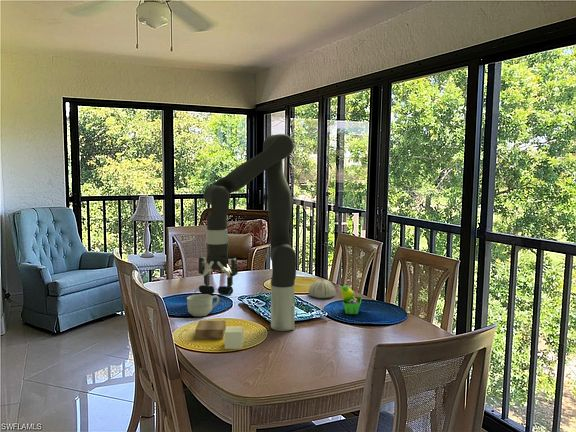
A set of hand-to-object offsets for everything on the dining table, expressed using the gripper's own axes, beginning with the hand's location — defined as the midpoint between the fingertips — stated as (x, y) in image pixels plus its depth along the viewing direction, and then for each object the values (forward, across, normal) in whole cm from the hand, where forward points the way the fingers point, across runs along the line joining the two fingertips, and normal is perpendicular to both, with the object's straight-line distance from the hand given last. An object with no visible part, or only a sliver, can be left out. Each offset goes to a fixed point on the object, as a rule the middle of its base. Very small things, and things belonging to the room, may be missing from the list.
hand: (218, 286), depth 169 cm
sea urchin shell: (+21, -23, -70) cm, 77 cm away
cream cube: (+20, -7, +3) cm, 22 cm away
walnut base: (+21, +6, -5) cm, 22 cm away
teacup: (+20, +19, -26) cm, 38 cm away
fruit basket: (+21, -41, -50) cm, 68 cm away
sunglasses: (+21, +26, -50) cm, 60 cm away
